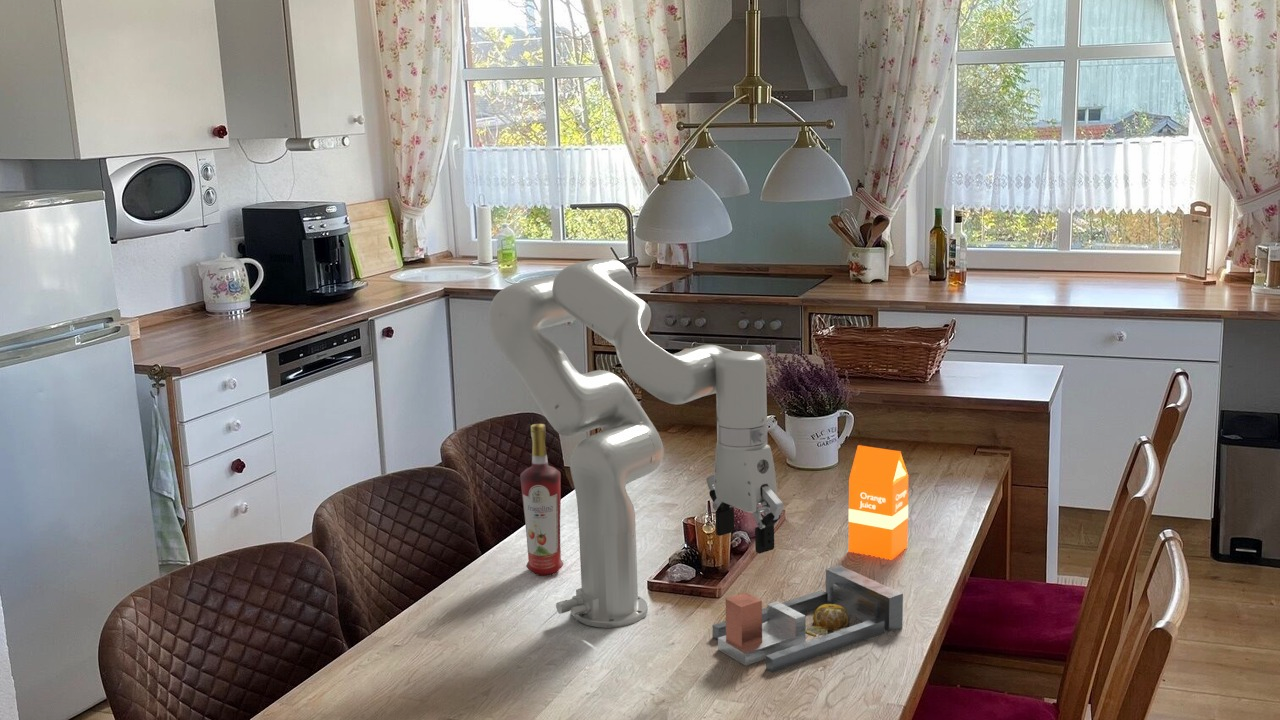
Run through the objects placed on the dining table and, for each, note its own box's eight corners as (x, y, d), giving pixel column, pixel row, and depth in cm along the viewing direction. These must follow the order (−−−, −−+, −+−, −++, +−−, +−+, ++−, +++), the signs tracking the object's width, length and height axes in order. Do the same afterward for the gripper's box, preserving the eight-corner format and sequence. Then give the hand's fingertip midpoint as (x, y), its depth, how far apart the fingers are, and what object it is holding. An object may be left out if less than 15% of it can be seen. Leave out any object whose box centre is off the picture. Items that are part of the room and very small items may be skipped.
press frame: (772, 674, 187) (772, 637, 185) (712, 638, 199) (712, 604, 198) (902, 628, 201) (902, 593, 200) (838, 597, 213) (839, 565, 212)
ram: (745, 665, 189) (744, 611, 187) (718, 649, 195) (717, 596, 193) (805, 645, 195) (805, 591, 193) (777, 629, 201) (777, 577, 199)
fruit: (806, 640, 198) (806, 619, 197) (804, 618, 206) (804, 598, 205) (859, 641, 197) (859, 620, 197) (854, 619, 205) (855, 598, 205)
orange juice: (864, 538, 240) (865, 439, 236) (907, 547, 235) (909, 446, 231) (847, 551, 234) (848, 450, 230) (891, 560, 229) (893, 457, 225)
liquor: (523, 579, 225) (515, 431, 219) (527, 564, 233) (520, 420, 227) (563, 578, 225) (556, 430, 219) (566, 563, 232) (560, 419, 226)
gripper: (799, 441, 181) (800, 552, 184) (726, 418, 195) (729, 522, 198) (759, 451, 177) (761, 564, 180) (688, 427, 191) (691, 532, 194)
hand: (744, 542), depth 189 cm, fingers open, 9 cm apart
